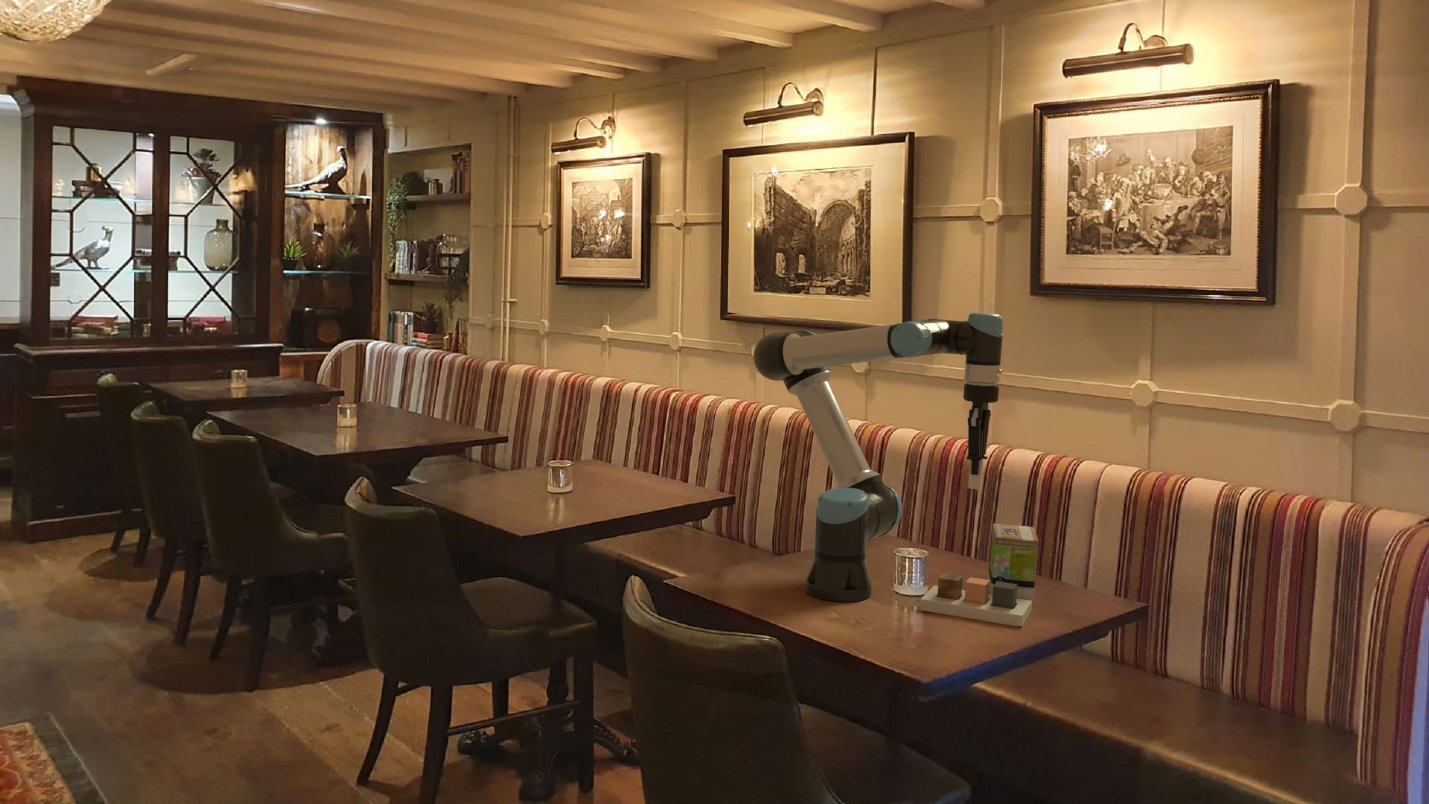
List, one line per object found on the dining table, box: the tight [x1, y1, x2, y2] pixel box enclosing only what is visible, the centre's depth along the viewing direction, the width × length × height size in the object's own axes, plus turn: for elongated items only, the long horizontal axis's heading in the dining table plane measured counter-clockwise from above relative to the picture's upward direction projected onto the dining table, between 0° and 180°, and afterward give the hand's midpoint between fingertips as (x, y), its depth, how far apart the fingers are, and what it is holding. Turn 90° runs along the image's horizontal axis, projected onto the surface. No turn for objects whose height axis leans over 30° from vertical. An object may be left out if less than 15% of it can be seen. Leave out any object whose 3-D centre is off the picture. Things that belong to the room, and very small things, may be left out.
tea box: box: [987, 523, 1040, 603], centre depth 259 cm, size 15×10×15 cm
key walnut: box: [937, 572, 964, 600], centre depth 247 cm, size 4×4×5 cm
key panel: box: [919, 584, 1033, 628], centre depth 245 cm, size 22×12×2 cm, turn 65°
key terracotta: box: [964, 577, 990, 605], centre depth 244 cm, size 4×4×5 cm
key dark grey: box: [992, 581, 1018, 609], centre depth 242 cm, size 4×4×5 cm
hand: (974, 488), depth 247 cm, fingers closed
